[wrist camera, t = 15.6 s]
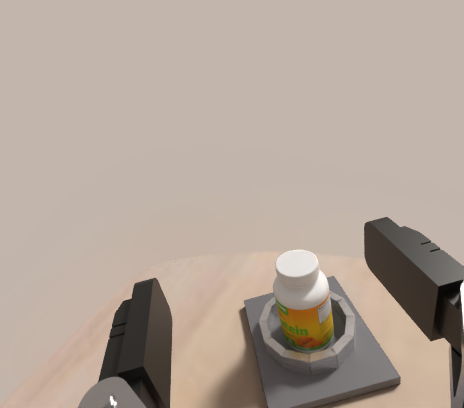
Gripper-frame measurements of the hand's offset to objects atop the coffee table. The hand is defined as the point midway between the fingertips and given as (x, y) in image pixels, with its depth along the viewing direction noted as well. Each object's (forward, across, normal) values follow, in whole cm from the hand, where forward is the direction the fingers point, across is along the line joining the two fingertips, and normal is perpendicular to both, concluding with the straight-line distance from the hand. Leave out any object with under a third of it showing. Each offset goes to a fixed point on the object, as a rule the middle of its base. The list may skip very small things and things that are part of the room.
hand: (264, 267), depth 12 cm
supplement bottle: (+13, -5, +22) cm, 26 cm away
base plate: (+13, -5, +22) cm, 26 cm away
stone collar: (+13, -5, +22) cm, 26 cm away
